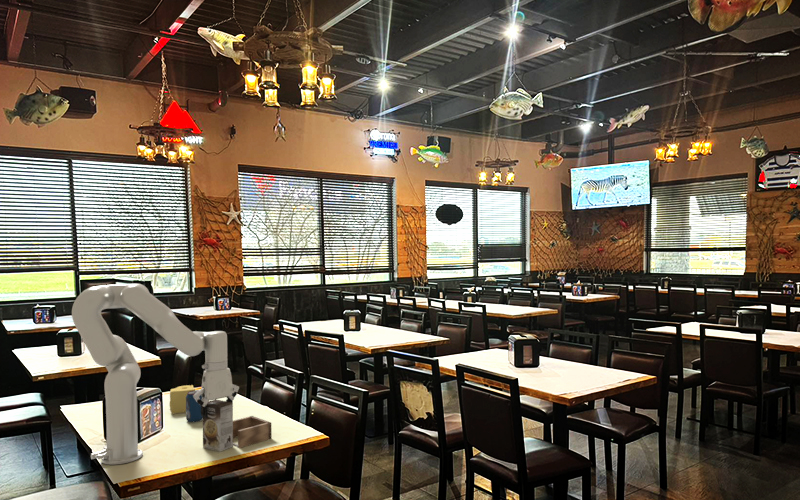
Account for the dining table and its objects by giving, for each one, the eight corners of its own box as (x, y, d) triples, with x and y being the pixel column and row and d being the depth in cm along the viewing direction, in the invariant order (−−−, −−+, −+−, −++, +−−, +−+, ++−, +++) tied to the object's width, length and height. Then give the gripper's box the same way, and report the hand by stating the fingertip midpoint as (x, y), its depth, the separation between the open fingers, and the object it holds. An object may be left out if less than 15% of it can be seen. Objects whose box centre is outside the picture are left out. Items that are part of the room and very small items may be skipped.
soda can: (206, 418, 232) (206, 390, 232) (199, 423, 225) (198, 394, 226) (191, 418, 233) (190, 389, 233) (183, 422, 226) (182, 393, 226)
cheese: (169, 408, 248) (169, 386, 248) (194, 405, 253) (194, 384, 253) (170, 414, 239) (170, 391, 239) (196, 411, 243) (196, 388, 244)
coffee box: (202, 448, 195) (201, 402, 196) (216, 442, 201) (215, 398, 201) (219, 452, 191) (219, 406, 191) (233, 446, 196) (233, 401, 197)
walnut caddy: (239, 447, 195) (239, 431, 195) (221, 439, 204) (220, 423, 204) (271, 438, 204) (271, 422, 204) (252, 431, 214) (252, 415, 214)
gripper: (198, 371, 187) (199, 421, 187) (243, 363, 200) (244, 410, 200) (188, 368, 192) (188, 417, 192) (233, 361, 205) (233, 407, 205)
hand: (217, 413), depth 196 cm, fingers open, 9 cm apart
